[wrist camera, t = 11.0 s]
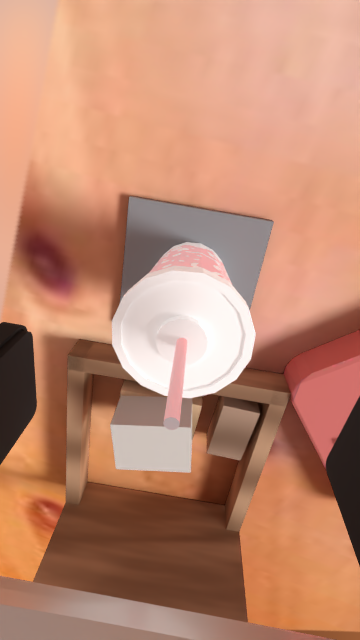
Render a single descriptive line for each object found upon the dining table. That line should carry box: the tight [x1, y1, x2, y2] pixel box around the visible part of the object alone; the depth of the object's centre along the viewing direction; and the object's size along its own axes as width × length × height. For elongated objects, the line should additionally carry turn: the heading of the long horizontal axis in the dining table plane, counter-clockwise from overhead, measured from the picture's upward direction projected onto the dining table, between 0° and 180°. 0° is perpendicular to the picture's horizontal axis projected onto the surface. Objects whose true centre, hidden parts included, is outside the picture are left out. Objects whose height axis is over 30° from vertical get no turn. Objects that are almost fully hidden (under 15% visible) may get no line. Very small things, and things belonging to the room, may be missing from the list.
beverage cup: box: [112, 242, 256, 430], centre depth 16 cm, size 6×6×14 cm
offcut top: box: [110, 396, 192, 473], centre depth 23 cm, size 4×5×3 cm
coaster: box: [120, 196, 274, 311], centre depth 22 cm, size 9×9×1 cm
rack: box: [33, 339, 291, 623], centre depth 25 cm, size 17×16×9 cm
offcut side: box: [207, 396, 260, 460], centre depth 27 cm, size 5×3×2 cm, turn 168°
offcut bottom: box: [120, 379, 202, 440], centre depth 26 cm, size 4×6×3 cm, turn 79°
